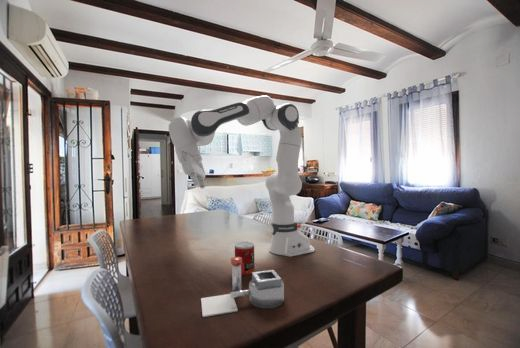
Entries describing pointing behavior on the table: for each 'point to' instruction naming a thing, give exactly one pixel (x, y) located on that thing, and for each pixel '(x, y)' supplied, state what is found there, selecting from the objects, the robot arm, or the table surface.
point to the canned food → (245, 256)
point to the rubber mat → (218, 305)
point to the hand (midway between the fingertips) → (200, 186)
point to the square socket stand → (264, 290)
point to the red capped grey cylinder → (236, 273)
